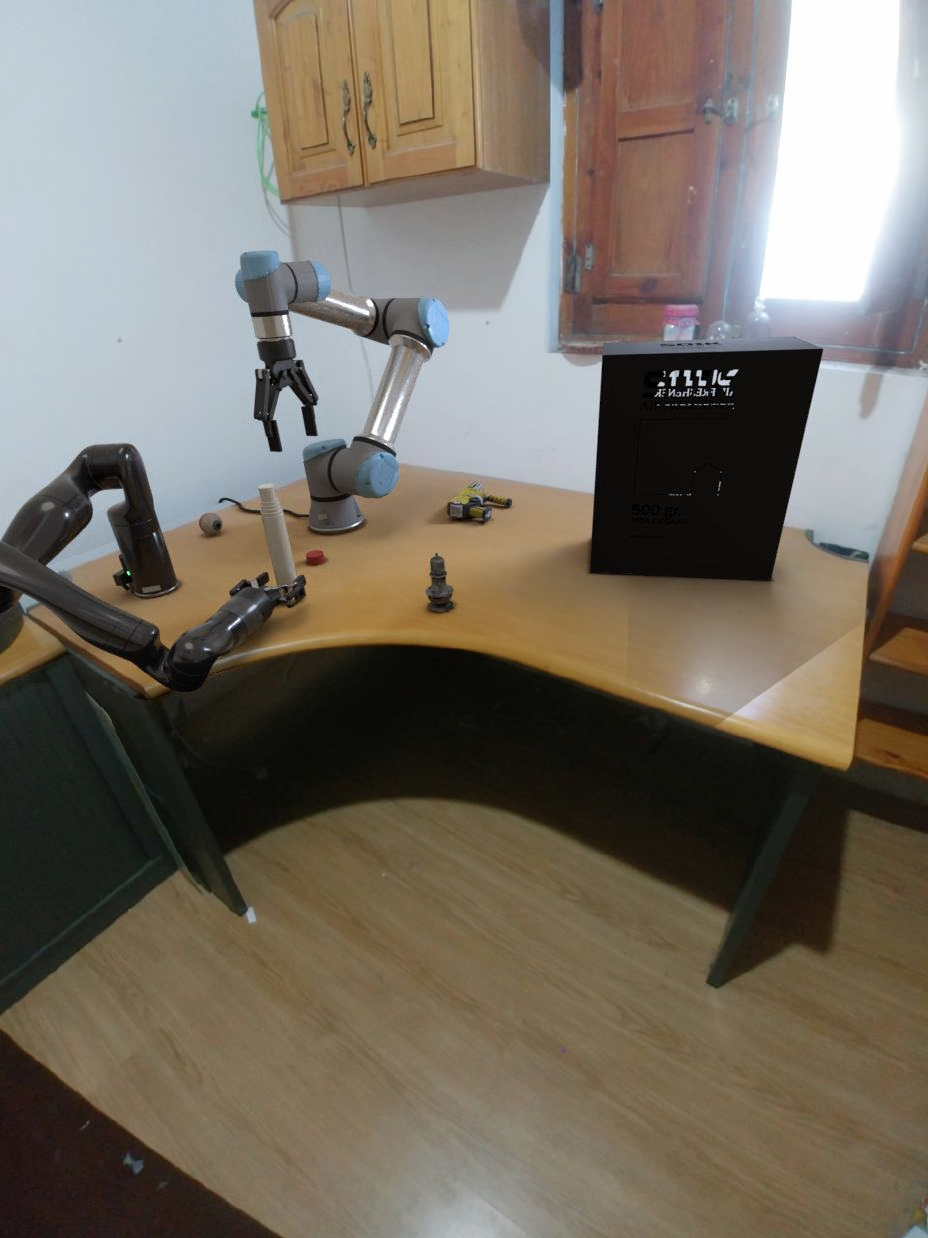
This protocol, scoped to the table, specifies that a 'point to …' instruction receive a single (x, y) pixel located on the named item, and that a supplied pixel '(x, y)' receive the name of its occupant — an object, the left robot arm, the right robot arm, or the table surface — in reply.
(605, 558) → the cardboard box
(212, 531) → the eyeball
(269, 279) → the right robot arm
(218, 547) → the table surface
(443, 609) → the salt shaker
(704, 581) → the table surface
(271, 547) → the bottle
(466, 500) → the toy gun
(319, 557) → the cap
